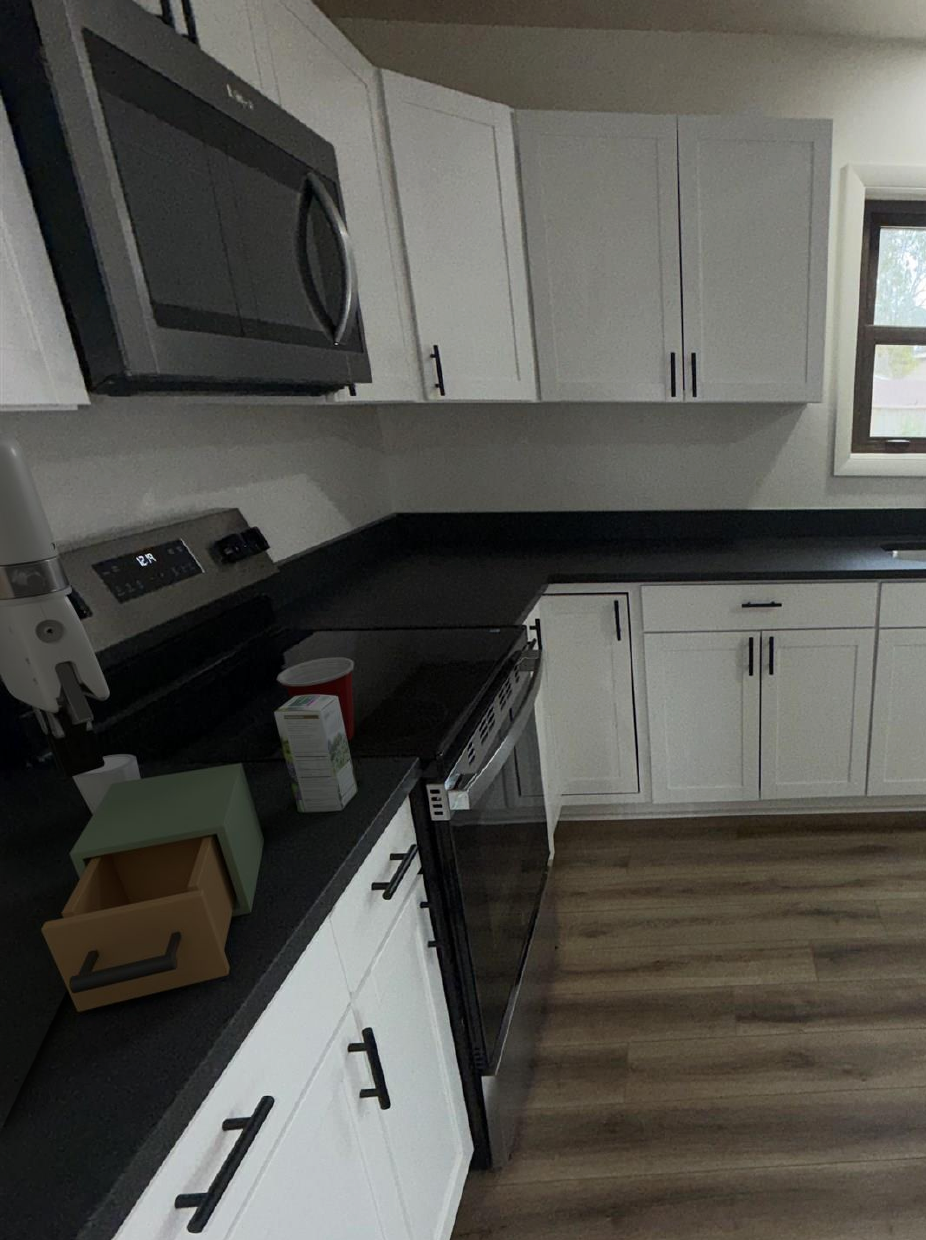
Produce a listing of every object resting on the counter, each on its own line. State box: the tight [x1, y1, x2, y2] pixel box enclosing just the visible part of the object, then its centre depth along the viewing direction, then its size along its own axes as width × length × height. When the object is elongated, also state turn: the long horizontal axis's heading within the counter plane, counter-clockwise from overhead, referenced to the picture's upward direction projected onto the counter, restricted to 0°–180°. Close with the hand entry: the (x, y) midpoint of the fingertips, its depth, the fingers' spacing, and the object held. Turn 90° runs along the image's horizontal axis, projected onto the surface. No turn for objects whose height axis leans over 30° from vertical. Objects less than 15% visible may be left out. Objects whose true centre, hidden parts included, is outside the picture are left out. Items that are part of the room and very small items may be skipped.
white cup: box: [72, 753, 142, 815], centre depth 104 cm, size 7×7×7 cm
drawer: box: [40, 834, 236, 1013], centre depth 74 cm, size 20×11×9 cm, turn 25°
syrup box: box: [273, 695, 359, 814], centre depth 104 cm, size 6×6×14 cm
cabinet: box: [69, 762, 265, 918], centre depth 87 cm, size 17×13×11 cm
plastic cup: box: [276, 656, 355, 741], centre depth 125 cm, size 11×11×12 cm
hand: (83, 769), depth 77 cm, fingers closed
